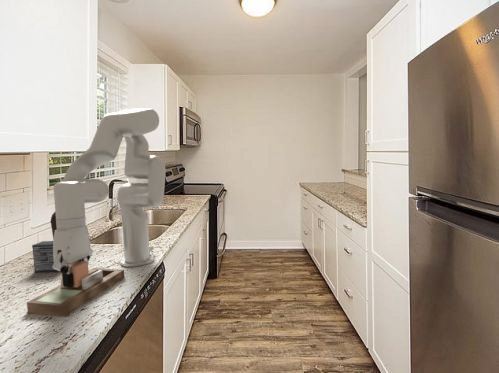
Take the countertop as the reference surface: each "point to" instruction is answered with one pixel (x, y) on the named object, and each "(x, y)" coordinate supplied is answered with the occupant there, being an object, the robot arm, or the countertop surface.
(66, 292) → the track
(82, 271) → the block
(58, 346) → the countertop surface
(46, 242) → the small box
